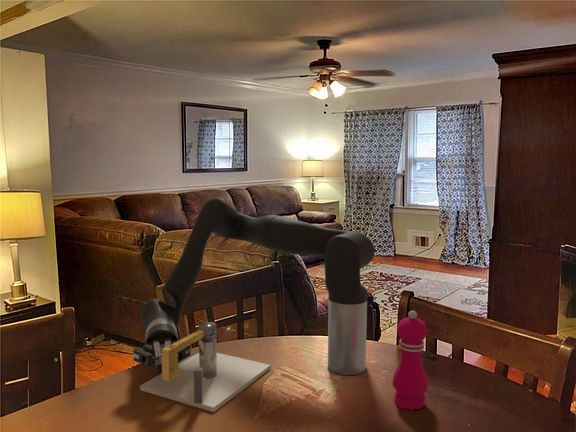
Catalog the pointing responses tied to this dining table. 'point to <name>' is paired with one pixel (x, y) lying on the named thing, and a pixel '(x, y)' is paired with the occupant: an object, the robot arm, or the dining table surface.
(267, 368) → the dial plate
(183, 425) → the dining table surface
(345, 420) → the dining table surface
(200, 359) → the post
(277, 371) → the dining table surface
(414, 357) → the pepper mill
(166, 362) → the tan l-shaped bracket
